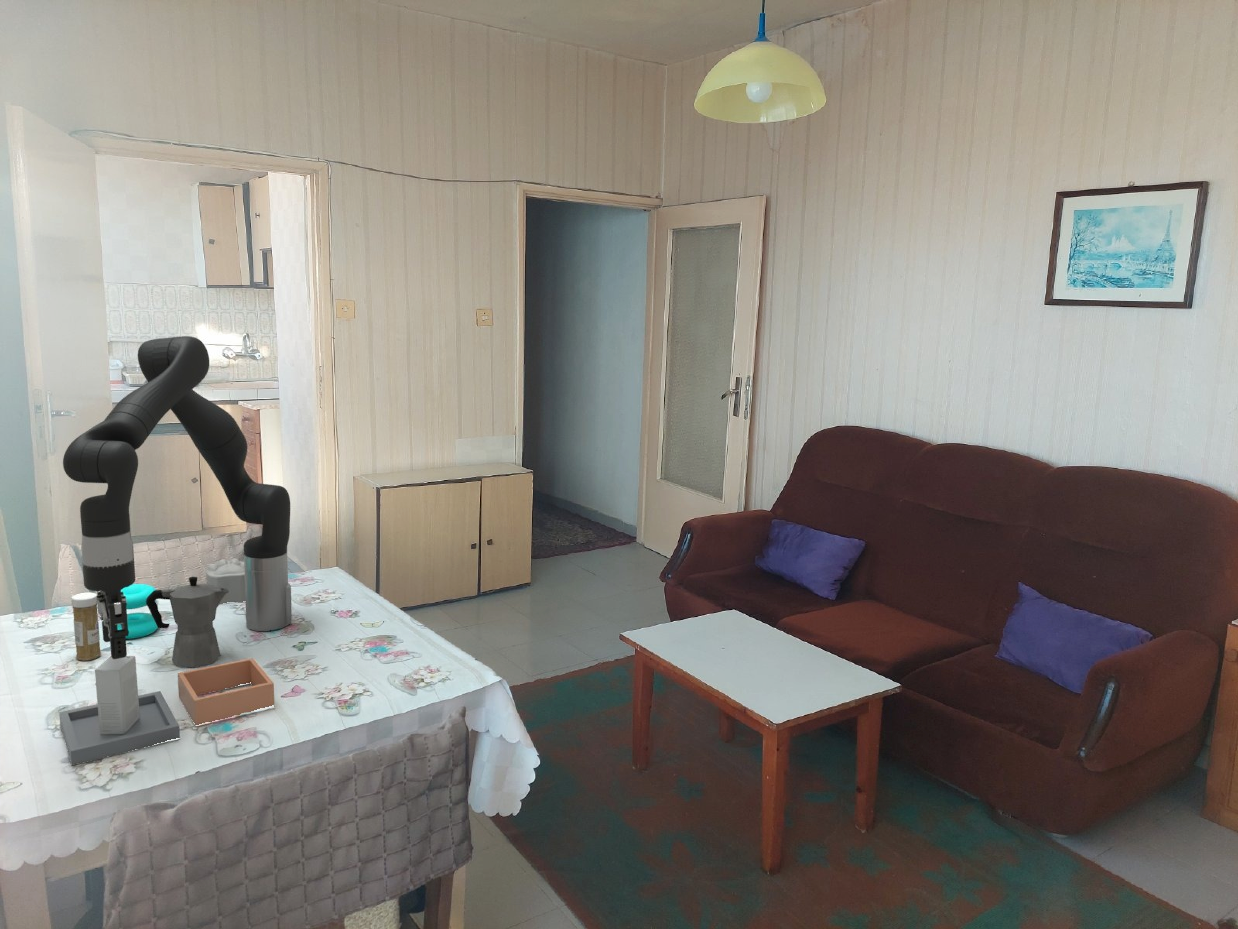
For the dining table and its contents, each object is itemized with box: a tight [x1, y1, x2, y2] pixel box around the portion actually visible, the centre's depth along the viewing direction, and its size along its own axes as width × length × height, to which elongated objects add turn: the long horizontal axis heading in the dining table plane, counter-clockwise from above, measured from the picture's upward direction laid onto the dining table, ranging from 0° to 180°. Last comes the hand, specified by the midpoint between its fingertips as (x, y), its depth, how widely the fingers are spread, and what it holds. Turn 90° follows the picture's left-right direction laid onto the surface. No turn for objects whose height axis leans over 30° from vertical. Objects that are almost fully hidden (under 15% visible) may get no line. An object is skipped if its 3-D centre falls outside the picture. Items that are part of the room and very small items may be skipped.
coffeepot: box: [146, 576, 229, 669], centre depth 182 cm, size 15×9×18 cm, turn 110°
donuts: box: [117, 583, 159, 640], centre depth 196 cm, size 10×10×10 cm
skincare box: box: [94, 655, 140, 734], centre depth 152 cm, size 6×4×12 cm
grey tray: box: [58, 690, 181, 766], centre depth 153 cm, size 16×16×2 cm
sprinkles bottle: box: [71, 591, 102, 662], centre depth 181 cm, size 5×5×14 cm
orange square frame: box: [177, 657, 275, 726], centre depth 165 cm, size 14×14×5 cm
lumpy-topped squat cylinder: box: [205, 557, 245, 605], centre depth 222 cm, size 10×13×9 cm
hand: (114, 649), depth 151 cm, fingers open, 8 cm apart
